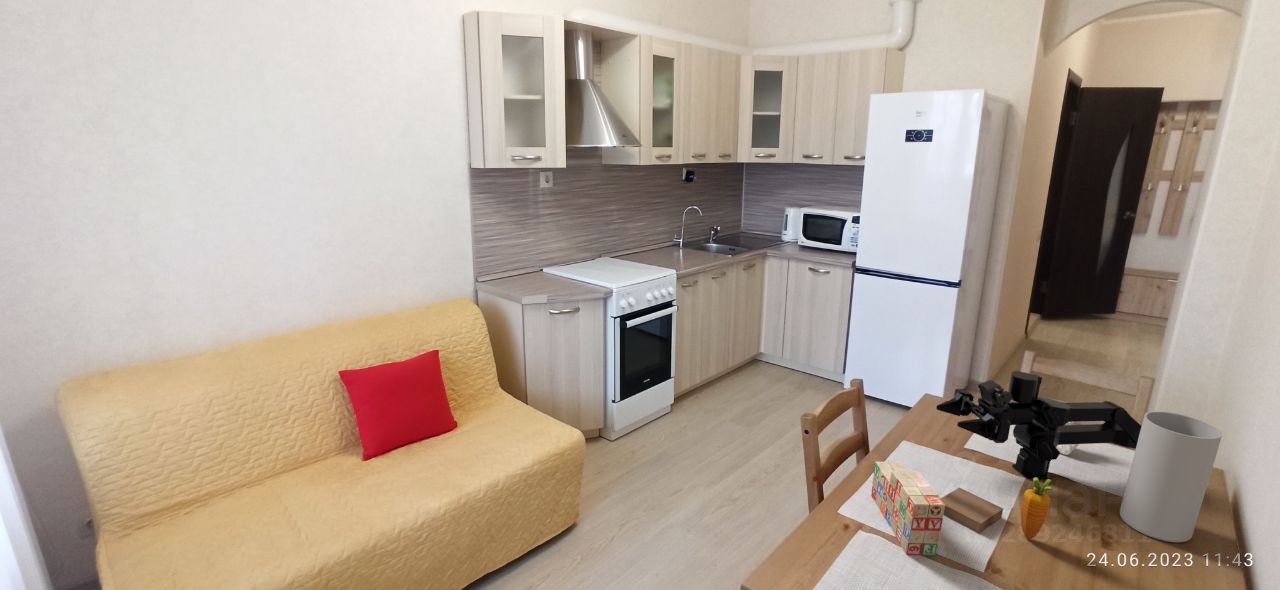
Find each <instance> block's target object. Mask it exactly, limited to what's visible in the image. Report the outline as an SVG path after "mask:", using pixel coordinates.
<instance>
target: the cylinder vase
mask: <svg viewBox="0 0 1280 590" xmlns="http://www.w3.org/2000/svg"><path fill="white" fill-rule="evenodd" d="M1141 426H1142V427H1141V430H1140V434H1139V438H1138V442H1137V446H1136V449H1134V450H1135V451H1134V454H1133V459H1132V462H1131V466H1130V471H1129V473H1128V477H1127V482H1126V485H1125V488H1124V494H1123V498H1122V500H1121V503H1120V504H1121V506H1120V508H1119V515H1120V517H1121V519H1122V521H1123V522H1124V523H1126V524H1127V526H1129V527H1130V528H1133V530H1135V531H1137V532H1139V533H1140V534H1143V535H1145V536H1148V537H1149V538H1153V539H1155V540H1156V539H1157V540H1160V541H1164V542H1169V543H1185V542H1187V541H1189V540H1191V538H1192V537H1193V535H1194V531H1195V527H1196V524H1197V521H1198V518H1199V515H1200V511H1201V507H1202V504H1203V501H1204V498H1205V494H1206V491H1207V488H1208V484H1209V481H1210V477H1211V474H1212V471H1213V467H1214V464H1215V460H1216V457H1217V453H1218V450H1219V447H1220V444H1221V441H1222V438H1223V437H1222V436H1223V433H1222V431H1221V430H1220V429H1219V428H1217V427H1216V426H1214V425H1213V424H1210V423H1208V422H1205V421H1203V420H1201V419H1198V418H1195V417H1191V416H1188V415H1185V414H1180V413H1175V412H1169V411H1159V410H1157V411H1156V410H1155V411H1148V412H1145V413H1144V415H1143V418H1142V422H1141Z"/></svg>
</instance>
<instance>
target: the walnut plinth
mask: <svg viewBox="0 0 1280 590" xmlns="http://www.w3.org/2000/svg"><path fill="white" fill-rule="evenodd" d="M939 498H940V497H939ZM940 499H941V500H942V502H943V503H944V504H945V509H944V514H943V517H947V518H948V519H950V520H952V521H954V522H956V523H958V524H960V525H961V526H964V527H966V528H967V529H969V530H971V531H973V532H975V533H977V534H978V535H979V534H981V533H982V532H984V531H985V530H987V529H988V528H989V527H991V526H992V525H994V524H995V523H996V522H998V521H999V520H1002V517H1003V512H1004V507H1001V506H999V505H997V504H994V503H993V502H991V501H988V500H987V499H984V498H982V497H980V496H978V495H976V494H973V492H970V491H967V490H965V489H963V488H961V487H958V488H956V489H954V490H953V491H950V492H949V493H947V494H946V495H944V496H942V497H941V498H940Z"/></svg>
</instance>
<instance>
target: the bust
mask: <svg viewBox="0 0 1280 590" xmlns="http://www.w3.org/2000/svg"><path fill="white" fill-rule="evenodd" d="M1075 423H1076V422H1067V423H1066V424H1065V425H1074V424H1075ZM1078 446H1079V444H1068V445H1058V446H1056V448H1057V449H1058V450H1059V451H1060V454H1061V455H1062V454H1063V455H1065V456H1068V455H1071V453H1072V452H1073V451H1074V450H1075V449H1076V448H1078Z"/></svg>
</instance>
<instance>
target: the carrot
mask: <svg viewBox="0 0 1280 590" xmlns="http://www.w3.org/2000/svg"><path fill="white" fill-rule="evenodd" d="M1032 481H1033V489H1032V488H1031V489H1026V490H1025V492H1024V494H1023V496H1022V502H1021V508H1020V509H1021V510H1020V525H1021V529H1022V532H1023V534H1024V537H1025V538H1026V539H1027V541H1030V540H1032V539H1033V538H1035V537H1036V536H1037V535H1038V534H1039V533H1040V531H1041V529H1042V527H1043V525H1044V523H1045V521H1046V519H1047V515H1048V513H1049V508H1050V505H1051V497H1050V496H1049V495H1048V494H1047V493H1045V492H1047V491H1052V490H1053V487H1052V486H1048V485H1049V484H1050V483H1051V482H1052V479H1046V480H1045V482H1044V483H1043V485H1042V486H1041V483H1040V479H1038V478H1036V477H1035V478H1033V479H1032Z"/></svg>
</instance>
